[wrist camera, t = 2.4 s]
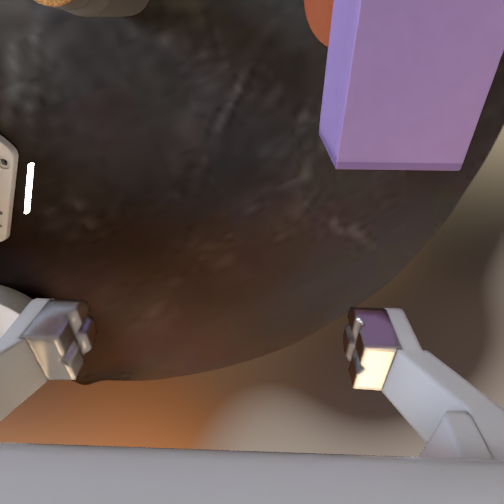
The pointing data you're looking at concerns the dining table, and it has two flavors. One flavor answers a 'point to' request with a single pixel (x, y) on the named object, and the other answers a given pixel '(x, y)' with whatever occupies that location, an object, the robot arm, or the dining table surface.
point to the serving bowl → (11, 307)
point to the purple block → (408, 81)
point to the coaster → (319, 18)
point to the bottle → (98, 7)
